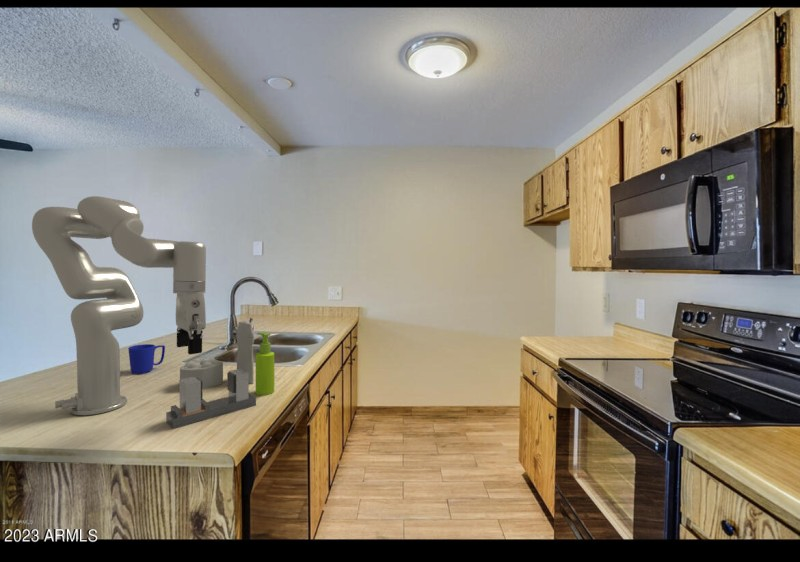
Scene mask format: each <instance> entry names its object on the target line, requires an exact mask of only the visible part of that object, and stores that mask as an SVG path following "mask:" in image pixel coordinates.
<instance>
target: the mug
mask: <svg viewBox="0 0 800 562" xmlns="http://www.w3.org/2000/svg"><path fill="white" fill-rule="evenodd" d="M158 348H161V350H162V351H161V357H160V360H159V361H158V362H156V363H155V361H154V360H155V351H156V349H158ZM127 349H128V356H129V359H128V360H129V367H130V373H132V374H134V375H140V374H141V375H142V374H147V373H150V372H152V371H153V368H154V366H159V365H161V364H162V363H163V362H164V358H165V354H166V353H165V352H166V345H163V344H162V345H161V344H160V345H159V344H158V345H154V344H149V343H146V344H138V345H132V346H129V347H128V348H127Z"/></svg>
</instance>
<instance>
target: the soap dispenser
mask: <svg viewBox="0 0 800 562" xmlns="http://www.w3.org/2000/svg"><path fill="white" fill-rule="evenodd" d="M256 335H260V336H262V342H259V352H257V353H255V395H257V396H268V395H271V394H273V393H275V352H274V351H271V346H272V345H271V344H272V343H271V342H269V337H270V336H271V334H270V333H269V332H266V331H262V332H261V331H260V332H257V333H256Z"/></svg>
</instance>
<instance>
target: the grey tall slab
mask: <svg viewBox="0 0 800 562" xmlns="http://www.w3.org/2000/svg"><path fill="white" fill-rule="evenodd" d="M235 332H236V338H235V339H236V346H237V347H236V349H237V357H236V369H242V370H244V371H246V372H248V373H249V385H253V384H254V382H255V381H254V343H255V333H254V331H253V324H252V323H251V322H248V321H246V320H245V321H244V320H243V321H238V326H237V329H236V331H235Z"/></svg>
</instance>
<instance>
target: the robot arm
mask: <svg viewBox="0 0 800 562" xmlns="http://www.w3.org/2000/svg"><path fill="white" fill-rule="evenodd" d="M143 223H144V222H143V221H142V220H141V216H140V211H139V210H138V208H137V207H136V205H134V204H133V203H131V202H128V201H125V200H120V199H115V198H110V197H104V196H97V195H93V196H87V197H85V198H83V199H81V200H80V201H79V202H78V204H77V208H72V207H64V206H46V207H42V208H40V209H38V210H37V211H35V213H34V215H33V217H32V221H31V230H32V234H33V237H34V240H35V241H36V243H37V245H38V247H40V249H41V250H42V251H43V253H44V254H45V255H46V257H47V258H48V260H49V261H50V264H51V265H52V267H53V270H54V272H55V274H56V276H57V279H58V280H59V282H60V284H61V286H62V289H63V291H64V293H65V294H66V295H67V296H68V297H69V298H71V299H72V300H73V299H74V300H80V301H81V300H82V301H83V300H86V301H84V302H81V303H79V304H77V305H76V306H75V307H73V309H72V310H71V313H70V321H71V325H72V329H73V332H74V338H75V345H76V346H75V349H76V380H77V381H76V382H77V388H76V389H77V392H76V393H74V396H71V397H70V398H67V399H60V400H55V402H54V407H55V408H54V409H58V408H59V409H60V408H61V409H67V408H70V411H69V412H70V413H71V414H72V415H75V416H92V415H98V414H103V413H107V412H108V413H109V412H111V411H115V410H116V409H119V408H122V407H123V406H125V405H126V404H127V401H128V398H127V397H126V395H125V396H124V395H121V361H120V359H121V356H120V350H121V349H120V344H119V341H118V340H117V338H116V337H115V336H114V334H113V333H112V331H116V330H117V331H118V330H121V329H127V328H132V327H135V326H137V325H139V324H140V323H141V322H142V321H143V318H144V315H145V313H144V308H143V305H142V303H141V300H140V298H139V296H138V294H137V292H136V290H135V288H134V286H133V284H132V281H131V280H130V277H128V275H127V273H125V272H124V271H123V270H121V269H120V268H117V267H108V266H107V267H105V266H104V267H101V266H96V265H95V264H94V263H93V261H92V259H91V257H90V254H89V253H88V252H87V250H86V249H84V247H83V246H82V245H80V244H79V243H78V242H76V241H74V240H73V239H72V238H77V239H80V238H81V239H94V240H101V239H106V238H109V237H110V238H111V244H112V247H113V249H114V251H115V252H116V253H117V254H118V255H119V256H121V257H122V258H123V259H125V260H127V261H128V262H129V263H131V264H133V265H136V266H138V267H141V268H146V269H147V268H154V269H157V268H158V269H159V268H163V269H164V268H166V269H167V268H169V269H171V268H172V269H173V270H172V271H173V273H172V278H173V279H172V280H173V281H172V283H173V284H172V293H173V294H176V299H175V325H176V327H177V328H176V348H185V347H187V354H188V355H197V354H201V353H203V336H204V335H203V333H204V332H203V330H205V329H206V327H207V321H206V320H207V318H206V316H207V315H206V300H205V293H206V274H207V273H206V272H207V271H206V267H207V265H206V264H207V263H206V262H207V249H206V245H205V244H204V243H202V242H198V241H186V240H185V241H183V240H182V241H181V240H180V241H178V240H166V239H159V238H147V237H144V236H142V234H143V233H144V224H143Z"/></svg>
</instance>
